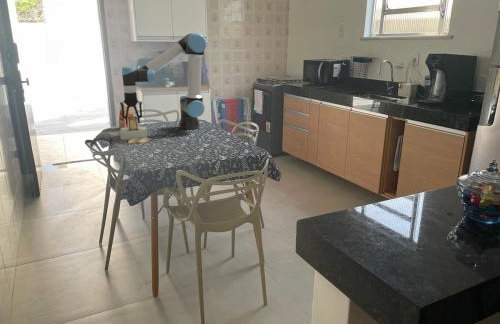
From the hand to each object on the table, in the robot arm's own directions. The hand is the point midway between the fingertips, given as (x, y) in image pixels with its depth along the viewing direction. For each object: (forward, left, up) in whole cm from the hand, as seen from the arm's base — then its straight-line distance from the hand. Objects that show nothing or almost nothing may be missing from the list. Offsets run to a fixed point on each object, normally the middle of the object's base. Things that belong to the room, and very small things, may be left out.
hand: (133, 128), depth 247 cm
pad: (-3, +12, -6) cm, 14 cm away
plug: (0, 0, -6) cm, 6 cm away
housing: (0, 0, -6) cm, 6 cm away
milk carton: (+5, -26, -6) cm, 27 cm away
